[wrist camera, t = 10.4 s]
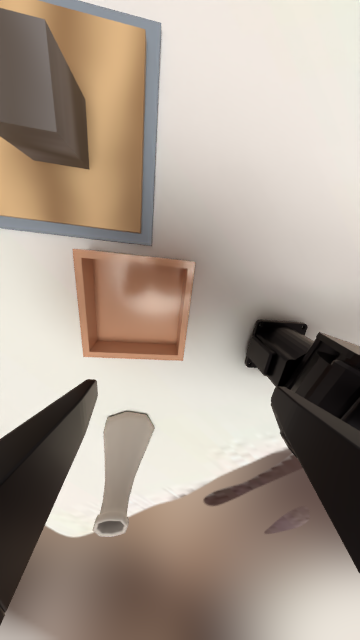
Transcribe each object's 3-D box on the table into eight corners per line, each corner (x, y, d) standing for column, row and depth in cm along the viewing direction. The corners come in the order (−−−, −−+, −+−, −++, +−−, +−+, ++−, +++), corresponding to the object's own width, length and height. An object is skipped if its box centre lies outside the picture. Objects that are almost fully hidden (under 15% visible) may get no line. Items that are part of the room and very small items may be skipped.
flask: (100, 411, 24) (59, 512, 15) (153, 407, 25) (147, 502, 15) (107, 447, 26) (77, 552, 17) (155, 443, 27) (151, 542, 18)
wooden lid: (146, 43, 12) (134, -103, 7) (141, 233, 16) (131, 225, 11) (-53, -9, 11) (-242, -238, 6) (-3, 215, 15) (-87, 196, 10)
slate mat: (161, 29, 12) (161, 23, 12) (151, 245, 17) (151, 245, 17) (-72, -33, 10) (-81, -43, 10) (-9, 227, 15) (-14, 226, 15)
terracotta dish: (190, 260, 18) (195, 262, 15) (180, 346, 21) (182, 360, 19) (87, 249, 17) (72, 248, 14) (94, 342, 20) (83, 356, 17)
